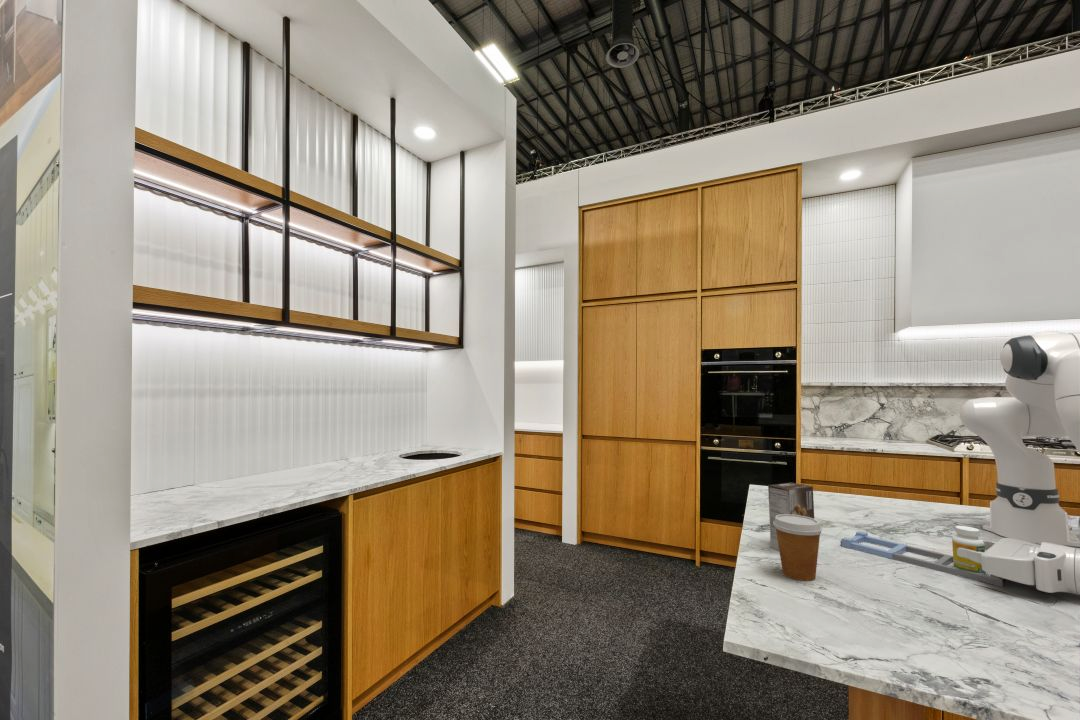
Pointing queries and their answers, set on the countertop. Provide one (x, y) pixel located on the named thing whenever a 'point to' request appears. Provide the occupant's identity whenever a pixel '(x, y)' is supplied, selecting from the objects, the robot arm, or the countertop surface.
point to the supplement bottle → (970, 540)
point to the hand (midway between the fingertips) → (963, 546)
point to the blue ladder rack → (901, 548)
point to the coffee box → (789, 504)
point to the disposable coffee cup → (798, 545)
